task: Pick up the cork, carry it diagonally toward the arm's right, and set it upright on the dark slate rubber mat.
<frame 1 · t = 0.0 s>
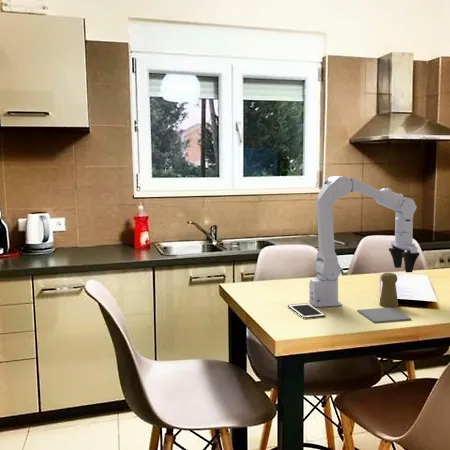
hand: (403, 269, 167), 10 cm above the table, fingers open, 7 cm apart
slate mat: (383, 315, 150), on the table
cell phone: (306, 313, 156), on the table
cork: (388, 305, 160), on the table
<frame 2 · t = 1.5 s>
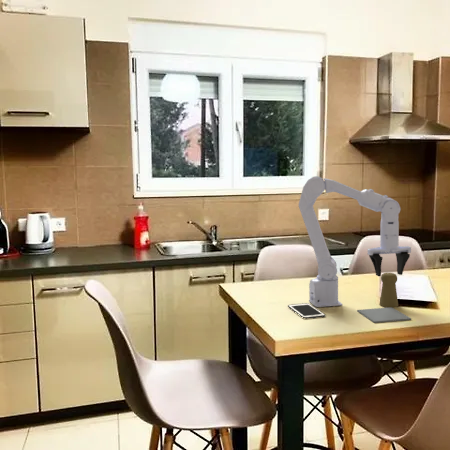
hand: (389, 275, 159), 10 cm above the table, fingers open, 7 cm apart
nothing on the table moved.
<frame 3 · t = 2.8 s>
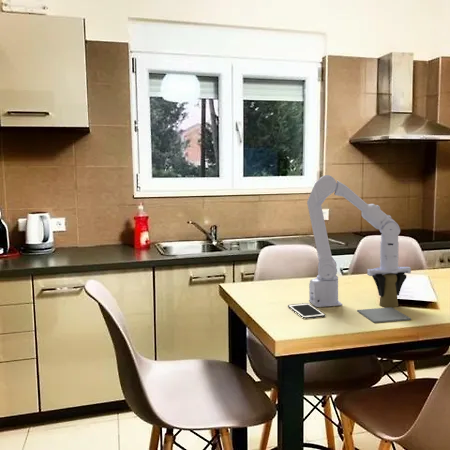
hand: (388, 295, 160), 3 cm above the table, fingers closed on cork, 5 cm apart
cork: (388, 305, 160), on the table, touching gripper
everything else where it was.
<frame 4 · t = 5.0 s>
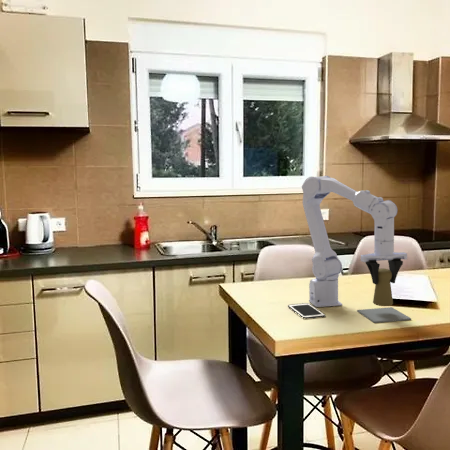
hand: (383, 283, 149), 10 cm above the table, fingers closed on cork, 5 cm apart
cork: (382, 303, 150), point 4 cm above the table, touching gripper
everything else where it was.
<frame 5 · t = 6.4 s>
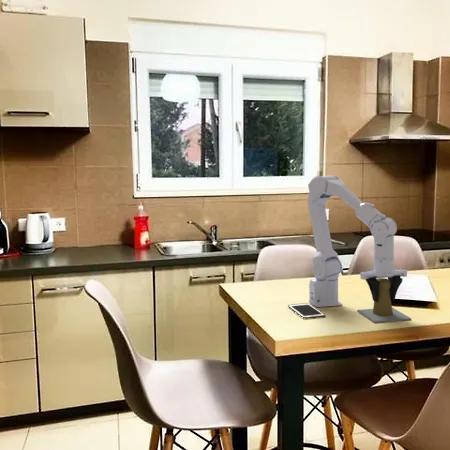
hand: (383, 300, 149), 5 cm above the table, fingers closed on cork, 5 cm apart
cork: (382, 313, 151), resting on slate mat, touching gripper
everything else where it was.
when the fingers open (5 cm above the table, at t = 6.9 s): cork stays where it is, resting on slate mat.
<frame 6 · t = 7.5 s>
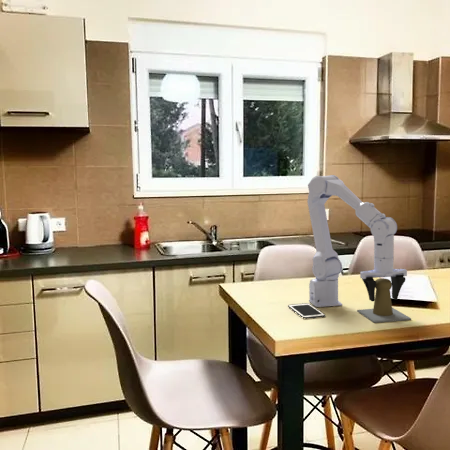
hand: (383, 299, 149), 5 cm above the table, fingers open, 7 cm apart
cork: (382, 313, 151), resting on slate mat
everything else where it was.
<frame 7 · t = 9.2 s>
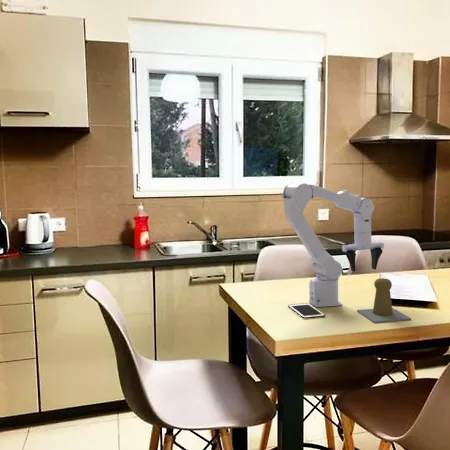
hand: (363, 269, 168), 10 cm above the table, fingers open, 7 cm apart
nothing on the table moved.
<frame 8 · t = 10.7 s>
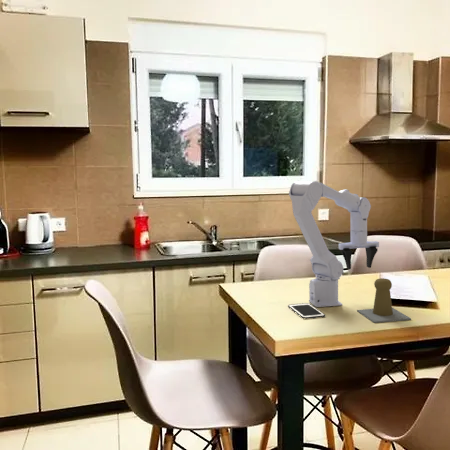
hand: (358, 267, 171), 10 cm above the table, fingers open, 7 cm apart
nothing on the table moved.
at the end: cork inside the target area on the slate mat (1.0 cm from its centre), point 0.3 cm above the slate mat's base; cork tilted 0°; the gripper is holding nothing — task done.
